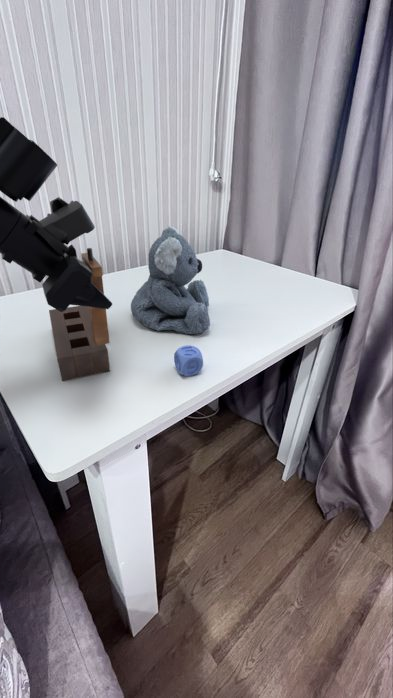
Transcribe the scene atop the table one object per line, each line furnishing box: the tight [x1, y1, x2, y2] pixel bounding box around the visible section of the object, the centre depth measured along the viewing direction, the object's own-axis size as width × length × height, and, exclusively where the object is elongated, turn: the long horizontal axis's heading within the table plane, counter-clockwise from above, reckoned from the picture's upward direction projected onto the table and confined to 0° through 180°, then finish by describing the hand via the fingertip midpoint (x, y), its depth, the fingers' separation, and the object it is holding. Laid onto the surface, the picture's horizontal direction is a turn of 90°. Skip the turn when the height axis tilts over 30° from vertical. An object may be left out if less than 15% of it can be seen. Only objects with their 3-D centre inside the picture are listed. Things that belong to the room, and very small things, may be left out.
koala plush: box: [130, 226, 211, 335], centre depth 71 cm, size 17×18×20 cm
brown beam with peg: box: [80, 247, 111, 346], centre depth 51 cm, size 2×7×16 cm, turn 28°
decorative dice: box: [173, 344, 204, 377], centre depth 58 cm, size 4×4×4 cm
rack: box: [48, 305, 111, 382], centre depth 63 cm, size 8×19×4 cm, turn 24°
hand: (104, 298), depth 52 cm, fingers closed on brown beam with peg, 6 cm apart
